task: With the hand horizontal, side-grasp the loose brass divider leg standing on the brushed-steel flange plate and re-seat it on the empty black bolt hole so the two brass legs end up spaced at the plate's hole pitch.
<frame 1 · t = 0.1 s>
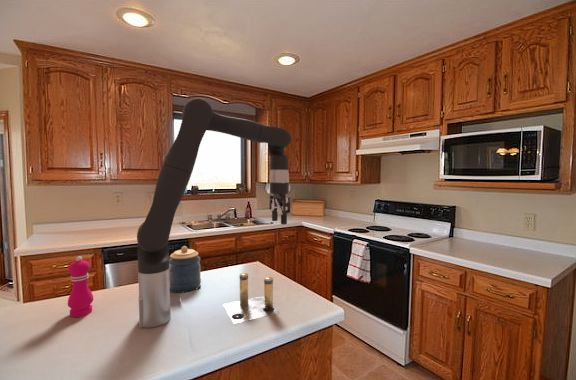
hand: (279, 222, 111), 29 cm above the counter, tool pointing down, fingers open, 8 cm apart
fixed brass leg: (268, 309, 98), resting on flange plate
loose brass leg: (244, 304, 102), point 1 cm above the counter, touching flange plate
canister: (185, 287, 120), on the counter
pepper mill: (81, 313, 98), on the counter
flange plate: (250, 311, 99), on the counter
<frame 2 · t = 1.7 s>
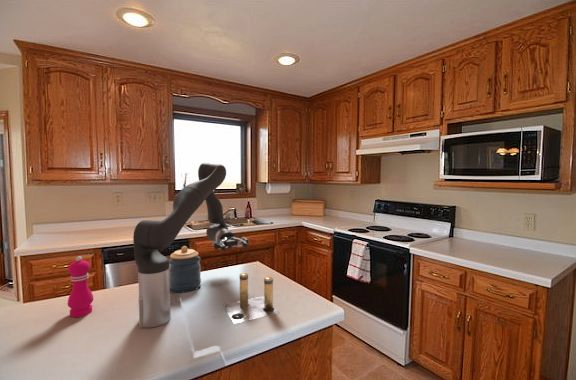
hand: (235, 247, 111), 19 cm above the counter, tool horizontal, fingers open, 8 cm apart
nothing on the counter moved.
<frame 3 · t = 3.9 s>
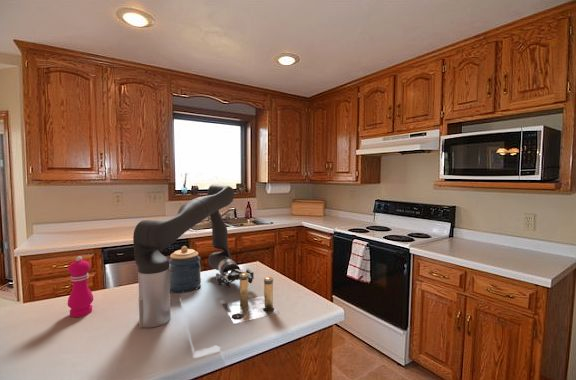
hand: (240, 282, 106), 8 cm above the counter, tool horizontal, fingers open, 8 cm apart
nothing on the counter moved.
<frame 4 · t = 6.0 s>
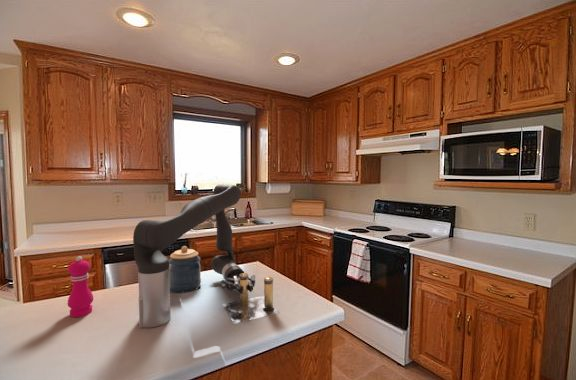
hand: (246, 290, 99), 7 cm above the counter, tool horizontal, fingers closed on loose brass leg, 3 cm apart
loose brass leg: (244, 304, 102), point 1 cm above the counter, touching flange plate, gripper
everything else where it was.
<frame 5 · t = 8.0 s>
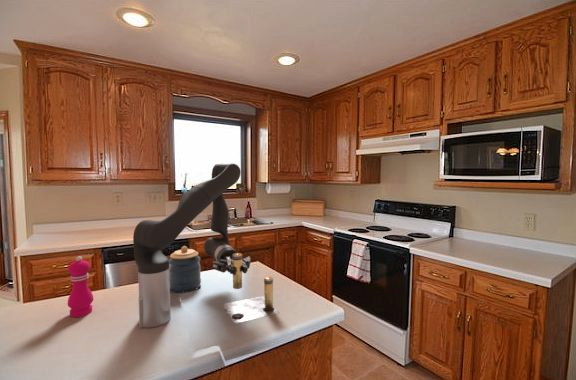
hand: (240, 271, 90), 17 cm above the counter, tool horizontal, fingers closed on loose brass leg, 3 cm apart
loose brass leg: (237, 287, 93), point 11 cm above the counter, touching gripper
everything else where it was.
when the fingers open (8 cm above the counter, at t = 10.3 s): loose brass leg stays where it is, resting on flange plate.
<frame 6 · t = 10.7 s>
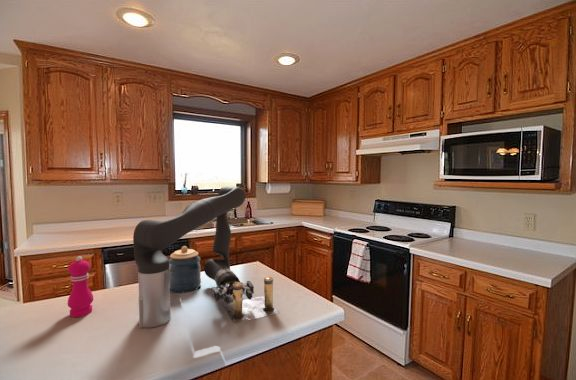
hand: (239, 298, 91), 8 cm above the counter, tool horizontal, fingers open, 6 cm apart
loose brass leg: (237, 316, 93), point 1 cm above the counter, touching flange plate
everything else where it was.
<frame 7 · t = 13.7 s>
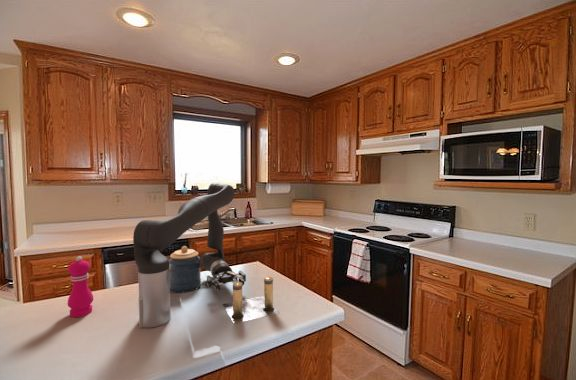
hand: (231, 285, 102), 8 cm above the counter, tool horizontal, fingers open, 8 cm apart
nothing on the counter moved.
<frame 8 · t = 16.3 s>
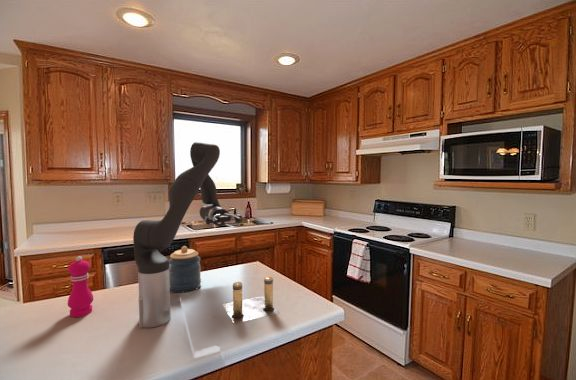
hand: (228, 221, 108), 30 cm above the counter, tool horizontal, fingers open, 8 cm apart
nothing on the counter moved.
at the end: loose brass leg 0.1 cm from the target spot on the flange plate, point 1.2 cm above the flange plate's base; loose brass leg tilted 0°; the gripper is holding nothing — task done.
